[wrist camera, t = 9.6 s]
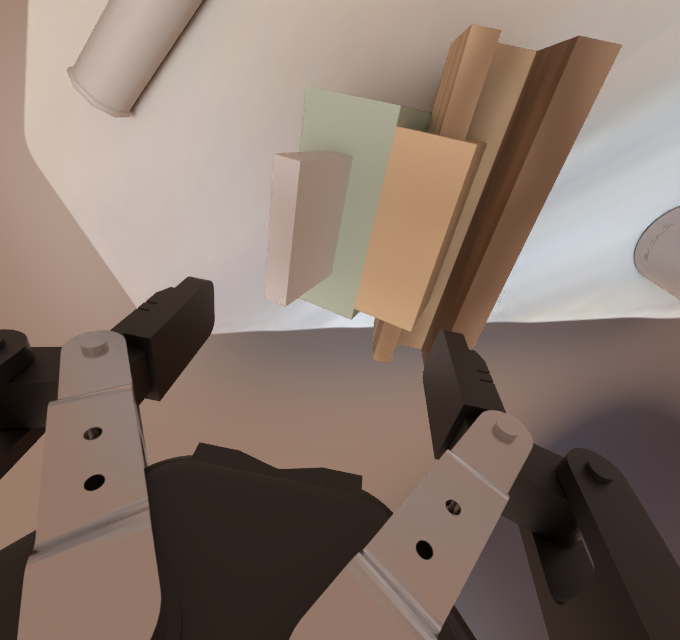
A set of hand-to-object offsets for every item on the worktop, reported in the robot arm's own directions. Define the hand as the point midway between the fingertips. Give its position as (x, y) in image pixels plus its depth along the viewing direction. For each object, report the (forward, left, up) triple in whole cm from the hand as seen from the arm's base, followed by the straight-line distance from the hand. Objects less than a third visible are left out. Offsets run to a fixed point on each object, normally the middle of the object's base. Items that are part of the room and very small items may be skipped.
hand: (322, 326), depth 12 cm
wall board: (-10, 0, -31) cm, 32 cm away
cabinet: (-4, 0, -22) cm, 22 cm away
